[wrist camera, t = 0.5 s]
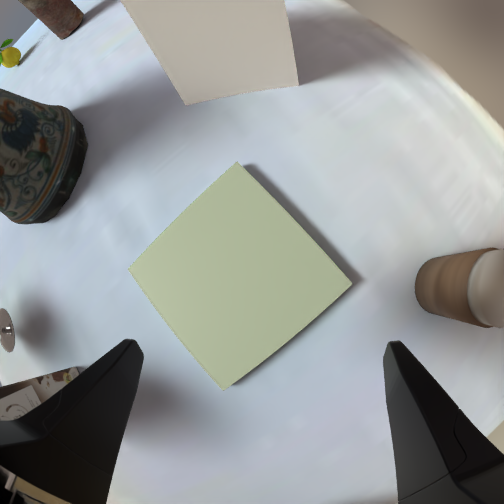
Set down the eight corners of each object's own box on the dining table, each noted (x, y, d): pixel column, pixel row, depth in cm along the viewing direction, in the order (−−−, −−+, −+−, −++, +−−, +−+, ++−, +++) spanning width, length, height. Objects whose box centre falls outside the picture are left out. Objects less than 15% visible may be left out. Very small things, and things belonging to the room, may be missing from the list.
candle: (64, 27, 36) (18, -16, 17) (89, 11, 35) (44, -38, 16) (57, 45, 35) (4, 0, 16) (83, 27, 34) (31, -25, 15)
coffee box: (75, 363, 27) (-34, 394, 11) (98, 412, 26) (-1, 463, 10) (42, 376, 28) (-48, 400, 12) (61, 418, 27) (-23, 455, 11)
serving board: (350, 283, 22) (352, 283, 21) (226, 386, 23) (223, 390, 22) (240, 166, 25) (237, 161, 24) (134, 269, 26) (127, 269, 25)
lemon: (27, 50, 40) (6, 34, 30) (27, 56, 39) (4, 40, 29) (11, 68, 40) (-10, 53, 30) (11, 76, 39) (-13, 61, 29)
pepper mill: (468, 285, 20) (537, 287, 10) (435, 325, 21) (499, 348, 11) (439, 245, 21) (505, 227, 11) (404, 285, 21) (463, 288, 12)
